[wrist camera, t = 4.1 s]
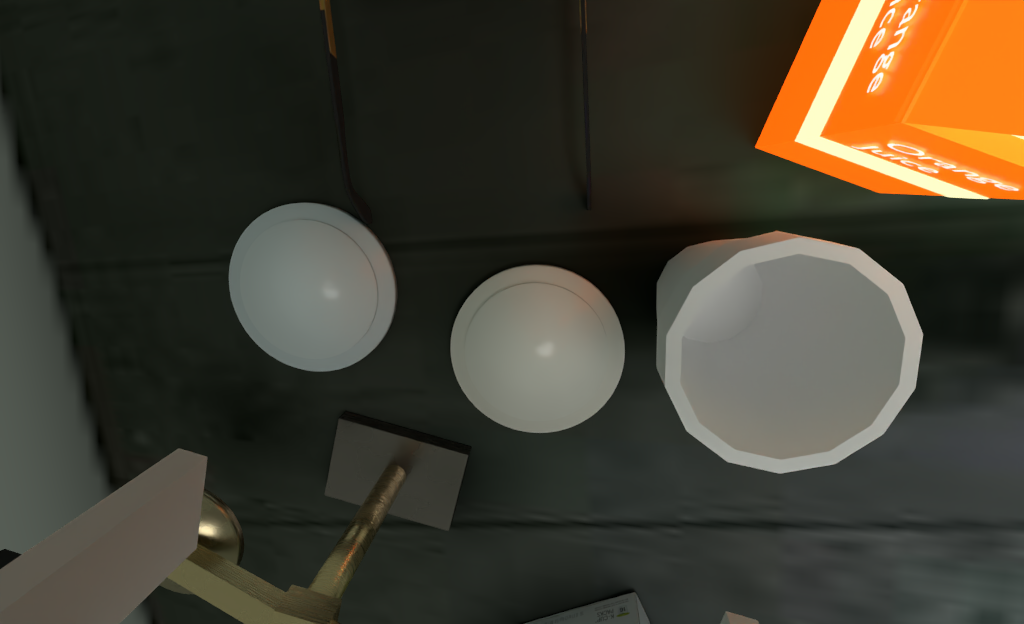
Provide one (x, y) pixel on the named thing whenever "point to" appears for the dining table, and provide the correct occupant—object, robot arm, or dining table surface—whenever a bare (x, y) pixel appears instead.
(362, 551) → the balance
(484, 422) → the dining table surface
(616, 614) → the tea box
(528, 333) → the dish high
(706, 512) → the dining table surface
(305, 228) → the dish low
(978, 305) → the dining table surface
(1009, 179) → the orange juice
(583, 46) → the sunglasses
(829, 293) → the foam cup
